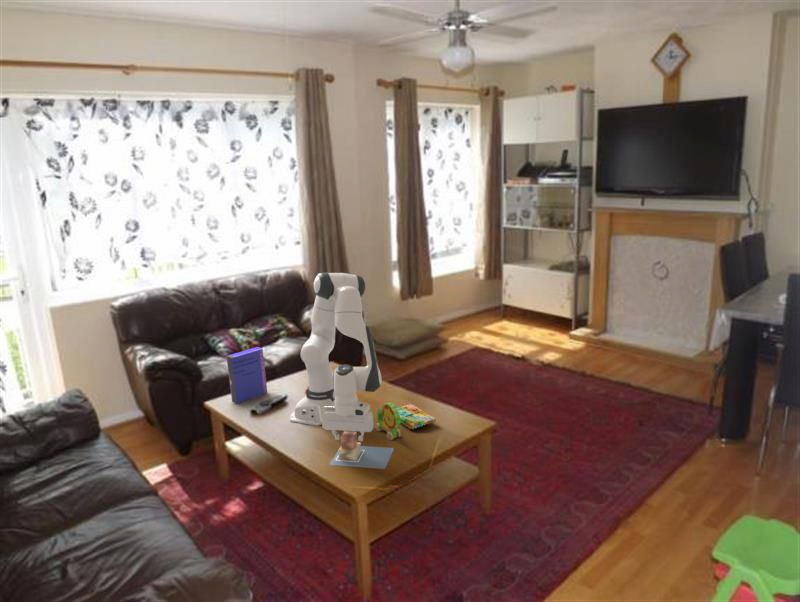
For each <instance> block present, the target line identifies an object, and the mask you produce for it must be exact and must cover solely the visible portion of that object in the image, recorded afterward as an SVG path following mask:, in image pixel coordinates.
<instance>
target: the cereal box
mask: <svg viewBox="0 0 800 602" xmlns="http://www.w3.org/2000/svg"><path fill="white" fill-rule="evenodd" d="M226 363H227V371H228V372H227V373H228V380H229V388H230V396H231V402H232V403H234V404H241V403H244V402H246V401H248V400H252V399H255V398H257V397H260V396H263V395H265V394H268V389H267V388H268V387H267V385H268V384H267V376H266V368H265V367H266V366H265V357H264V350H263V348H262V347H259V346H255V347H253V348H249V349H246V350H242V351H240V352H236V353H232V354H229V355H226Z"/></svg>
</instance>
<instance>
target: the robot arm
mask: <svg viewBox="0 0 800 602" xmlns="http://www.w3.org/2000/svg"><path fill="white" fill-rule="evenodd" d="M313 292H314V293H315V295H316V296H315V298H314V299H315V300H314V304H313V309H312V313H311V317H310V318H311V319H310V323H311V332H310V336H309V338H308V339H307V340H306V342H304V343H303V345H302V346H301V350H300V358H301V361H302V362H303V363H304V365H305V368H306V371H307V376H308V377H307V379H308V386H307V388H306V389H305V391H304V395H305V396H304V397H303V398H301V399H300V400H299V401H297V403H296V405H295V408H294V411H293V412H292V413H291V414H290V416H289V421H290V422H292V423H296V424H297V423H299V424H304V425H305V424H306V425H311V426H317V427H318V426H321V425H322V428H323V429H324V430H329V431H330V430H331V433H332V435H333V436H334V440H336V441H340V440H341V436H340V435H341V434H340V433H338V432H337V431H343V432H344V431H351V432H360V434H361V435H358V436H357V442H363V441H364V435H365V433H371V432H373V430H374V429H375V420H374V416H373V415H374V414H373V413H372V411H371V405H370V404H369V403H367V402H365V401H364V402H363V401H361V400H359V399H358V396H357V392H366V393H367V392H369V393H374V392H376V391H377V390H378V389H380V387H381V386H382V380H383V379H382V374H381V371H380V368H379V363H378V358H377V353H376V347H375V343H374V337H373V333H372V330H371V327H370V326H368V325H366V323H365V321H364V317H363V304H362V297H363V295H364V294H365V292H366V283H365V280H364V278H363V276H361V275H358V274H350V273H345V272H319V273H318V274H317V275H316V276H315V277H314V279H313ZM336 329H337V331H339V332H340V333H341V334H342V335H344V336H346V337H349V338H352V339H355V340H356V341H359V342H360V343H362V345H363V348H364V354H365V358H366V365H365V366H353V365H351V364H340V365H338V366H336V367H335V368H334V369H332V368H331V365H330V362H329V355H330V353H331V352H332V351H333V349H334V347H335V343H336ZM333 370H334V371H333Z"/></svg>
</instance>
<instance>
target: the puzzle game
mask: <svg viewBox="0 0 800 602" xmlns="http://www.w3.org/2000/svg"><path fill="white" fill-rule="evenodd" d="M396 409H397V410H398V412H399V415H400V424H401V423H402V424H401V425H402V426H404V425H405V426H404V427H405V428H407V427H408V428H407V429H409V430H410V429H412V430H414V428H415V429H417V427H418V428H421V427H423V425H424V426H426V424H427V425H430V424H431V423H435V422H436V421H437V420H436V418H435V417H433V416H431V415H430V414H428V413H427V412H425V410H422V409H420V408H419V407H417V406H415V405H414V404H413V403H409V404H406V405H403V406H399V407H396ZM420 426H421V427H420Z"/></svg>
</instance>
